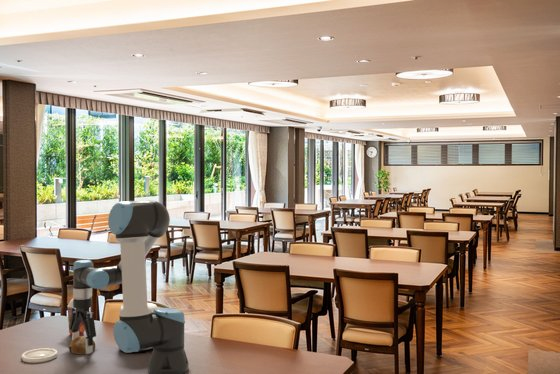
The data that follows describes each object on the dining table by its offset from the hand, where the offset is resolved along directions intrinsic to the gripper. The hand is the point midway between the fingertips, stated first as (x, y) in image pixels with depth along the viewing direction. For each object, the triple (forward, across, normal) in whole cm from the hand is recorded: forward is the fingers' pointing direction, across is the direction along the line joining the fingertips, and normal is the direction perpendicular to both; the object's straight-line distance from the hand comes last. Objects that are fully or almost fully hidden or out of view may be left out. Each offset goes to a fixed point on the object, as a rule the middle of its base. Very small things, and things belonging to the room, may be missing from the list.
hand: (82, 350), depth 233 cm
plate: (0, +4, +16) cm, 17 cm away
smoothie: (0, +23, -10) cm, 25 cm away
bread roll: (+1, 0, 0) cm, 1 cm away
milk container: (0, -14, -18) cm, 23 cm away
